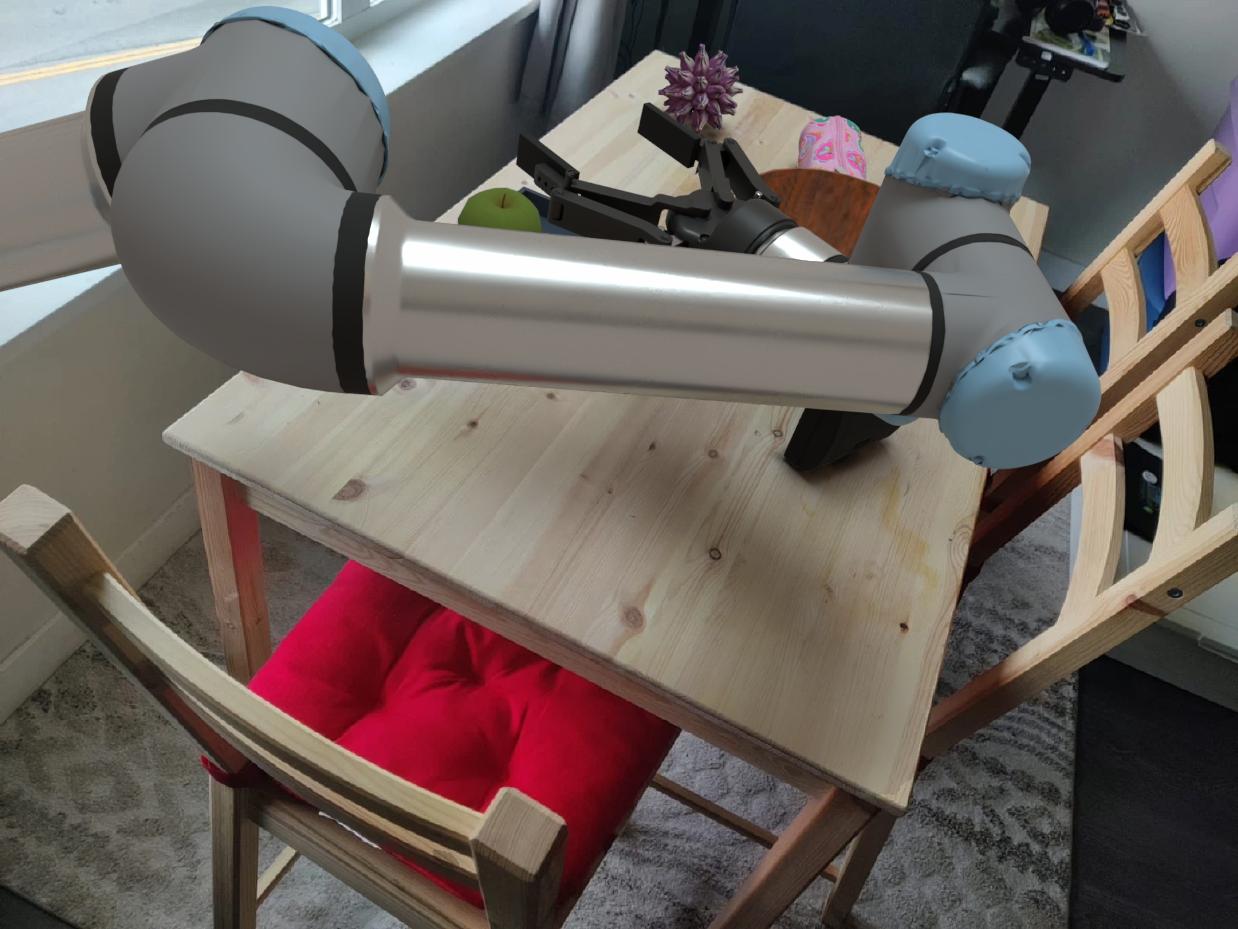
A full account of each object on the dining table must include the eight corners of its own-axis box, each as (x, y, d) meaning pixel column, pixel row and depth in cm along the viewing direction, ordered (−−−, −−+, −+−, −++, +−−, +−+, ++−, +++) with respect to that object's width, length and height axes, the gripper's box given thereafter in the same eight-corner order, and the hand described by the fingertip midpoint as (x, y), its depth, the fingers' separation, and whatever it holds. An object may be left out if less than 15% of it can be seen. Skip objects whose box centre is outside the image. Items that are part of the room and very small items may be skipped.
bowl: (883, 263, 116) (921, 183, 108) (942, 398, 99) (992, 315, 91) (694, 239, 112) (718, 153, 104) (721, 376, 95) (753, 286, 87)
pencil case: (860, 259, 116) (889, 197, 109) (791, 243, 115) (815, 179, 109) (850, 177, 131) (874, 117, 124) (788, 162, 130) (810, 102, 124)
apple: (469, 257, 100) (476, 161, 92) (542, 278, 100) (557, 184, 92) (441, 301, 94) (447, 203, 86) (520, 324, 94) (533, 227, 86)
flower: (659, 114, 137) (739, 115, 136) (655, 149, 128) (741, 150, 127) (660, 33, 129) (745, 33, 128) (656, 64, 120) (747, 65, 119)
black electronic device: (861, 419, 94) (946, 258, 80) (892, 449, 92) (985, 289, 78) (777, 455, 88) (853, 288, 74) (808, 487, 86) (892, 321, 72)
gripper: (638, 361, 63) (459, 206, 72) (849, 264, 77) (677, 144, 86) (662, 272, 58) (466, 116, 67) (884, 185, 72) (697, 65, 81)
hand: (585, 131), depth 76 cm, fingers open, 13 cm apart
